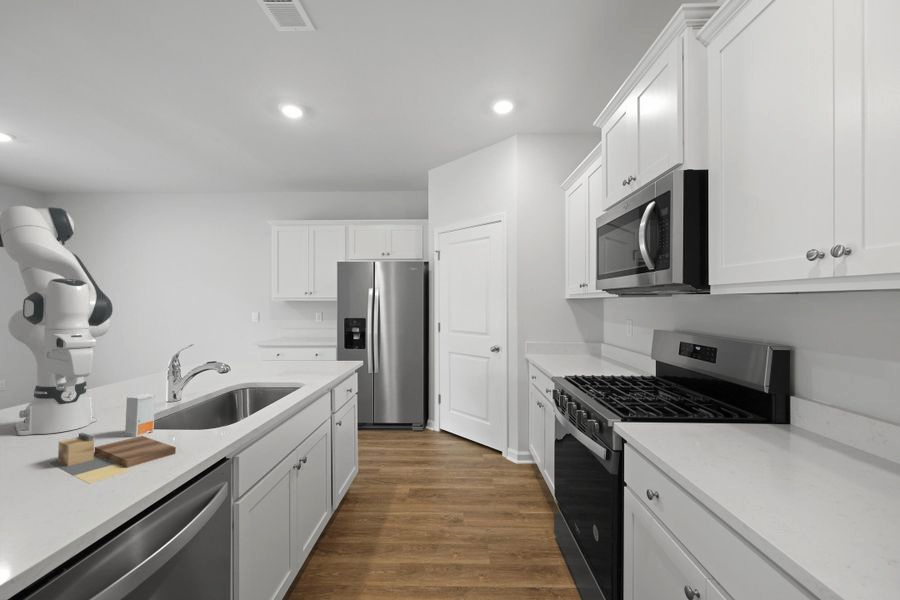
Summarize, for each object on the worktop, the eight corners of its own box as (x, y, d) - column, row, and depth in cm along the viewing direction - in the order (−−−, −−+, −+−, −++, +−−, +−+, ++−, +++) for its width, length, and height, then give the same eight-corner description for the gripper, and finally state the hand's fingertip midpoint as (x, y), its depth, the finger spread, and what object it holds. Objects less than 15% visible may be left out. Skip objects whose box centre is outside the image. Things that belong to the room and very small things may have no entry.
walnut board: (94, 454, 107) (94, 447, 107) (141, 442, 117) (141, 435, 117) (127, 468, 99) (127, 460, 99) (175, 454, 108) (175, 447, 108)
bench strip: (48, 463, 101) (48, 462, 101) (88, 453, 108) (88, 452, 108) (89, 484, 90) (89, 483, 90) (131, 472, 97) (131, 470, 97)
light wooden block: (58, 461, 102) (59, 437, 102) (83, 455, 106) (84, 432, 106) (68, 466, 99) (68, 441, 99) (93, 459, 103) (94, 436, 103)
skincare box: (136, 437, 121) (137, 398, 121) (124, 436, 122) (125, 397, 122) (154, 431, 127) (155, 394, 127) (143, 430, 128) (144, 393, 128)
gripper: (36, 337, 109) (34, 388, 109) (67, 342, 99) (65, 398, 99) (66, 336, 114) (64, 384, 114) (99, 340, 105) (97, 393, 104)
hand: (65, 391), depth 106 cm, fingers open, 3 cm apart
